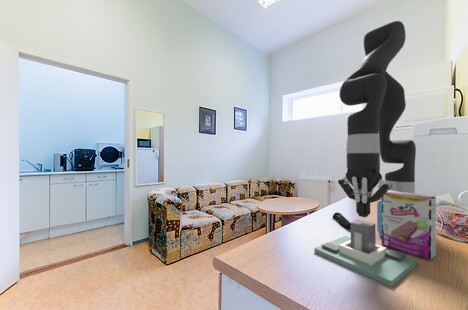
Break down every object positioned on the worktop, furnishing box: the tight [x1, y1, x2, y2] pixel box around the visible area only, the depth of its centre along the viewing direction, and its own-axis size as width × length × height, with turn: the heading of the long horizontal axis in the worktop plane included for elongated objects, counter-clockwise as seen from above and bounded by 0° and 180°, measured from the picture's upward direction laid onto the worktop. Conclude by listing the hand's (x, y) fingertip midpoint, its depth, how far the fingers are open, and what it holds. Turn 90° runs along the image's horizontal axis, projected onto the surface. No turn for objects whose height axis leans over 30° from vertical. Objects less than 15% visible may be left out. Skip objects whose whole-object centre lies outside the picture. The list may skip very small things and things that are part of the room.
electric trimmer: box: [332, 212, 351, 229], centre depth 82 cm, size 4×16×3 cm, turn 170°
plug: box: [350, 219, 377, 254], centre depth 54 cm, size 5×4×8 cm
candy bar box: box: [381, 190, 437, 261], centre depth 58 cm, size 11×5×16 cm, turn 34°
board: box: [314, 235, 418, 288], centre depth 54 cm, size 16×18×3 cm
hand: (363, 216), depth 55 cm, fingers closed
